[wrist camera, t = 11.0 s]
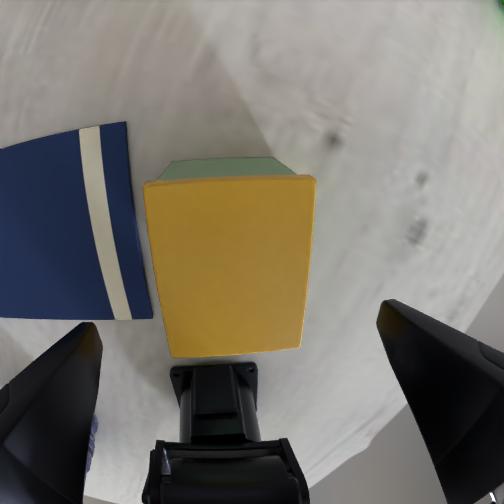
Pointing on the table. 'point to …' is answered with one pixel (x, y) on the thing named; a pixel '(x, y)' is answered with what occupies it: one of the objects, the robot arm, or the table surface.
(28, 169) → the tea towel
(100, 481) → the table surface
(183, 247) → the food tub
